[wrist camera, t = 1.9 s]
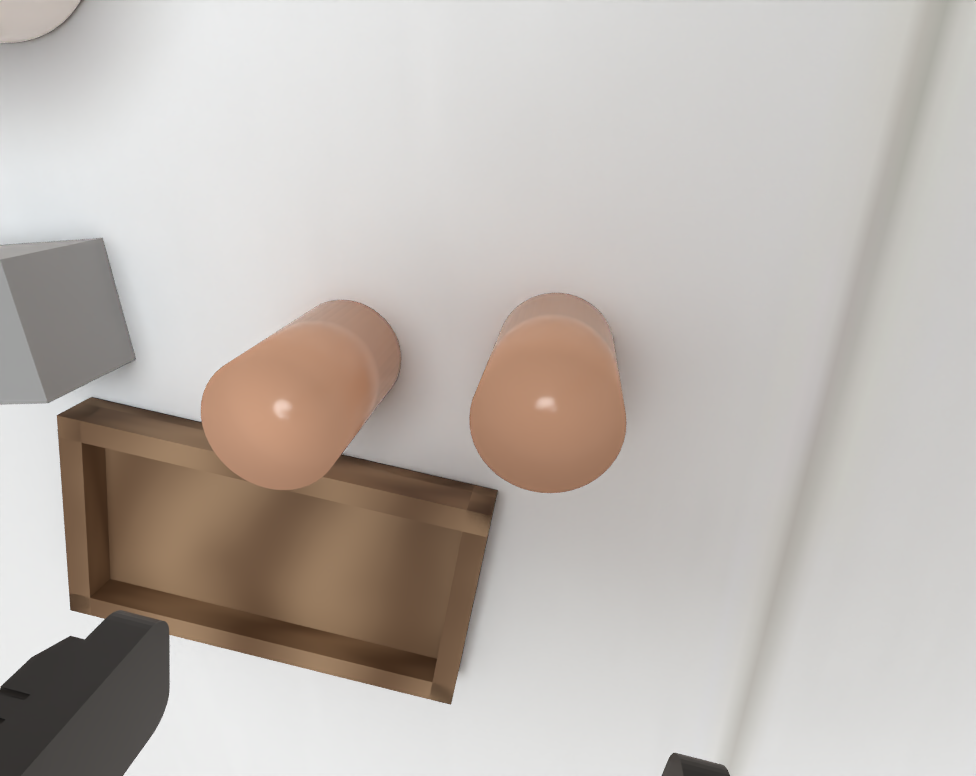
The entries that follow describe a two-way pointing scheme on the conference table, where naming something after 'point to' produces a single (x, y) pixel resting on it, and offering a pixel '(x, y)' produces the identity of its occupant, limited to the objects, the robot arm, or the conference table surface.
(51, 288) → the grey block
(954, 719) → the conference table surface
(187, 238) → the conference table surface
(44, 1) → the candle holder
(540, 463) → the clay cylinder
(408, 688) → the tray
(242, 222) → the conference table surface
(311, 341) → the clay cylinder
